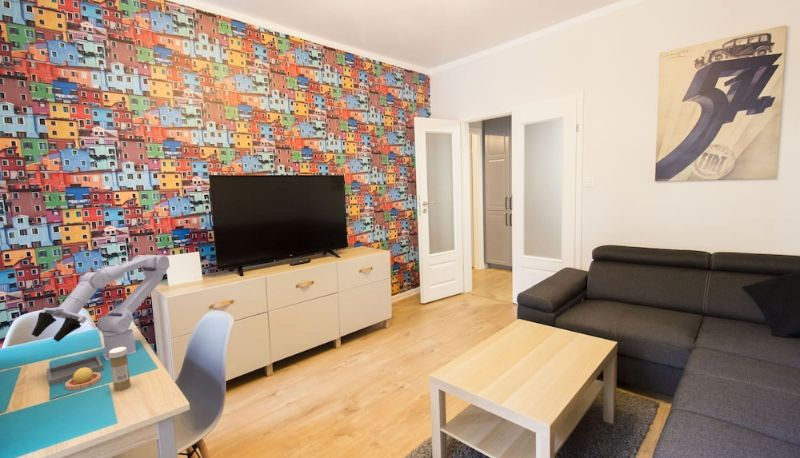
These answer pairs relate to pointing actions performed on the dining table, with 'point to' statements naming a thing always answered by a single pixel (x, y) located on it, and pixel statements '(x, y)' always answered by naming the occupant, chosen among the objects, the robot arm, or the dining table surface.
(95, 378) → the copper shallow bowl
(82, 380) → the ball
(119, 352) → the sprinkles bottle
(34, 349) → the dining table surface
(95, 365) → the tray
